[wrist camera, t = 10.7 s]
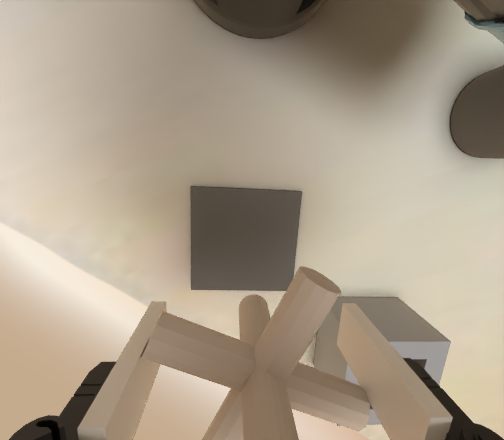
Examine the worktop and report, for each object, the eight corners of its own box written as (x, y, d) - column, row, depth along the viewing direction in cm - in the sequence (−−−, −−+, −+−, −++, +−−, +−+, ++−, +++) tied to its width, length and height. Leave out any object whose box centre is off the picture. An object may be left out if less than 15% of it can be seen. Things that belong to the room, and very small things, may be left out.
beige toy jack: (359, 271, 16) (563, 452, 6) (285, 391, 17) (349, 680, 8) (213, 203, 14) (168, 299, 4) (148, 343, 16) (10, 635, 6)
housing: (321, 296, 31) (351, 341, 23) (397, 297, 32) (450, 341, 24) (313, 363, 33) (337, 425, 25) (384, 363, 34) (428, 422, 26)
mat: (191, 186, 27) (190, 186, 26) (300, 191, 28) (301, 191, 27) (191, 287, 29) (191, 289, 29) (291, 288, 30) (291, 290, 30)
